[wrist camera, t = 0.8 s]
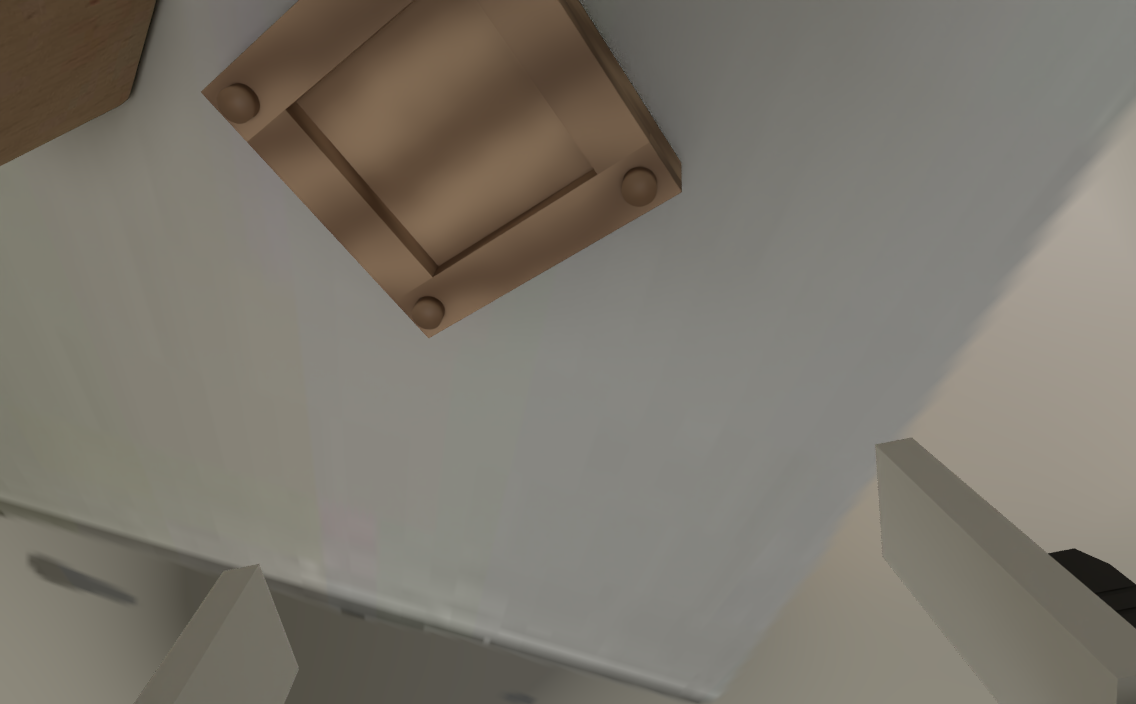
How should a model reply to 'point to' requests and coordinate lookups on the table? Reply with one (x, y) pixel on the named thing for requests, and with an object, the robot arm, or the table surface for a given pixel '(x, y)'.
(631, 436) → the table surface
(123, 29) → the wooden block
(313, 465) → the table surface
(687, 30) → the table surface
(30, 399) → the table surface
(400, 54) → the base plate
